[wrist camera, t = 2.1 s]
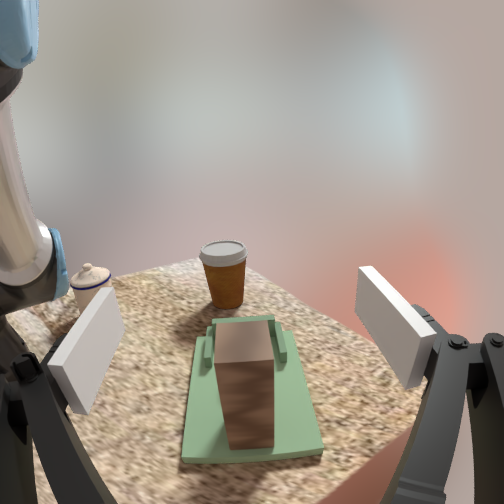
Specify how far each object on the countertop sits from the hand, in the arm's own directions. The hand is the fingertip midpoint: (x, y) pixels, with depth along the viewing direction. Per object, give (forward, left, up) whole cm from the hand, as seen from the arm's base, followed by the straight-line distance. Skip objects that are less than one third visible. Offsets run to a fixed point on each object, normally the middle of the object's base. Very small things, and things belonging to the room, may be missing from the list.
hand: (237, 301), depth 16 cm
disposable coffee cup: (-3, +43, -25) cm, 50 cm away
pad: (0, +17, -25) cm, 30 cm away
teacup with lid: (-31, +41, -25) cm, 57 cm away
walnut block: (0, +9, -23) cm, 25 cm away
